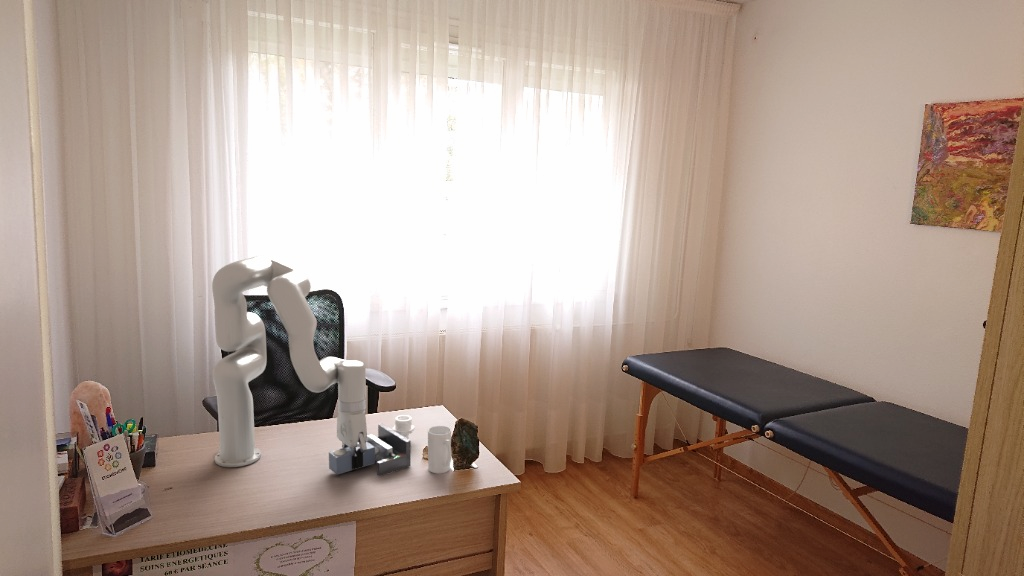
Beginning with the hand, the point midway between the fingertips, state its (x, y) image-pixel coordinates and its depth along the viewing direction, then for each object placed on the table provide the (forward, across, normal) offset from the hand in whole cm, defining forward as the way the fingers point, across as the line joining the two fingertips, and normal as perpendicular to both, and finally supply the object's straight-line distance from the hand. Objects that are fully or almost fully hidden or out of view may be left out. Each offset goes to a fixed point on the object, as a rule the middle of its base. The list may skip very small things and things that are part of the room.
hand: (353, 463), depth 189 cm
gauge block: (+1, 0, 0) cm, 1 cm away
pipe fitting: (+2, -8, +22) cm, 23 cm away
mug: (+2, +16, +20) cm, 26 cm away
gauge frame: (+2, 0, +9) cm, 9 cm away
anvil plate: (+1, +1, +9) cm, 9 cm away
